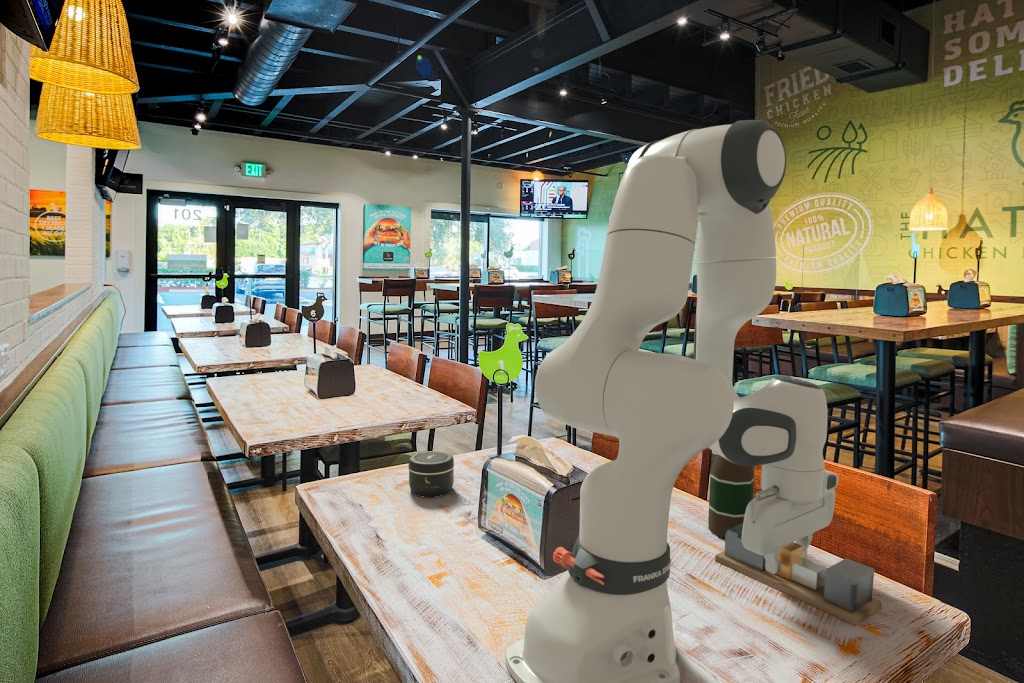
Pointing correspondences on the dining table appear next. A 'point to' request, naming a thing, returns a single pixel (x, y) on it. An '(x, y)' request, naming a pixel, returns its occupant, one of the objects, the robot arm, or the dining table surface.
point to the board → (802, 591)
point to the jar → (431, 473)
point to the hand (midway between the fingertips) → (786, 564)
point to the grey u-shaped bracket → (742, 550)
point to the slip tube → (800, 567)
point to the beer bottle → (728, 494)
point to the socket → (849, 585)
